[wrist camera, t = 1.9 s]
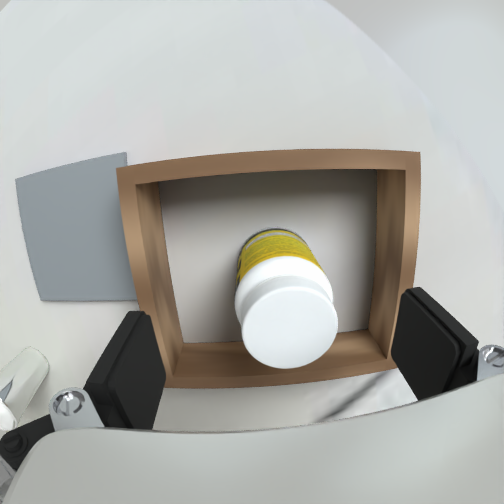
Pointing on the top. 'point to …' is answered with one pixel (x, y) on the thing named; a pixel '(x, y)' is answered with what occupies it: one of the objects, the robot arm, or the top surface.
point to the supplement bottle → (283, 300)
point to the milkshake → (20, 385)
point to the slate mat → (76, 231)
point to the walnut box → (235, 353)
